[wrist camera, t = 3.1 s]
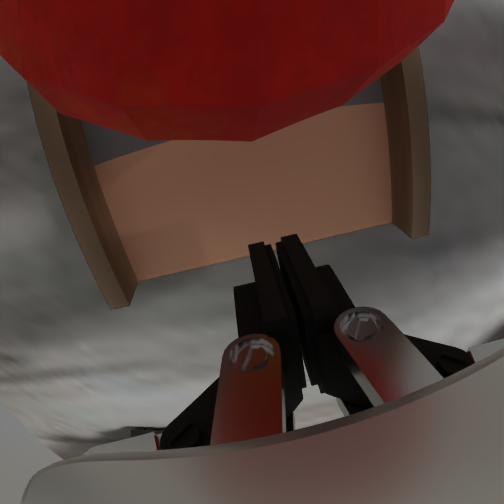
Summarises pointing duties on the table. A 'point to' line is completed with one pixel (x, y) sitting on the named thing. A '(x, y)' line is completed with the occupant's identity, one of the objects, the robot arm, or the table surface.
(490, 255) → the table surface
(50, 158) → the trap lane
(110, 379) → the table surface
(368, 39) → the apple
